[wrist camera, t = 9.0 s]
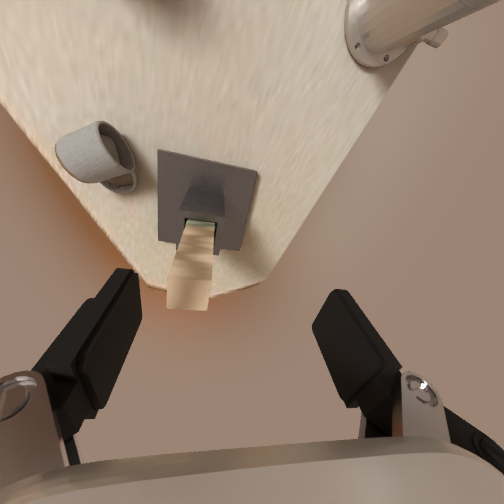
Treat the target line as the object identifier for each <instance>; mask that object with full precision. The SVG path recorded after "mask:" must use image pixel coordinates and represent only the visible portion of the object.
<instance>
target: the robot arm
mask: <svg viewBox="0 0 504 504" xmlns="http://www.w3.org/2000/svg"><path fill="white" fill-rule="evenodd" d="M499 1H501V0H348V2H347V7H346V13H345V36H346V42H347V45H348V48H349V51H350V53H351V54H352V56H353V58H354V59H355V60H356V61H357V62H358V63H360V64H361V65H363V66H366V67H370V68H374V67H380V66H383V65H386V64H388V63H390V62H392V61H394V60H395V59H397V58H398V57H399V56H400V55H401V54H402V53H403V52H405V50H406V49H407V48H408V47H409V46H410V44H411V43H413V42H416V43H420V42H422V41H423V42H426V44H428V45H430V46H432V47H435V48H437V47H439V46H440V45H441V44H442V43H443V42H444V40H445V39H446V37H447V35H448V31H447V30H445V29H443V28H441V27H443V26H446V25H448V24H450V23H452V22H454V21H457V20H459V19H461V18H463V17H465V16H468V15H470V14H472V13H474V12H477V11H479V10H481V9H483V8H485V7H488V6H490V5H492V4H494V3H497V2H499ZM355 46H356V49H355ZM141 320H142V308H141V298H140V288H139V277H138V273H134V271H133V270H132V269H123V268H117V269H116V270H115V271H114V273H113V274H112V275H111V276H110V278H109V279H108V281H107V282H106V283H105V285H104V286H103V287H102V289H101V290H100V291H99V293H98V294H97V295H96V297H95V298H89V299H87V300H86V301H85V302H84V303H83V304H82V306H81V307H80V308H79V310H78V311H77V312H76V314H75V315H74V316H73V317H72V319H71V320H70V321H69V322H68V324H67V325H66V326H65V327H64V329H63V330H62V331H61V333H60V334H59V335H58V336H57V338H56V339H55V340H54V342H53V343H52V344H51V345H50V347H49V348H48V349H47V350H46V352H45V353H44V354H43V356H42V357H41V358H40V360H39V361H38V362H37V363H36V365H35V366H34V367H33V368H32V370H31V371H27V370H26V371H20V372H15V373H12V374H9V375H7V376H4V377H2V378H0V504H504V450H503V449H502V448H501V447H500V446H499V445H497V444H496V443H495V442H494V441H493V440H492V439H491V438H489V437H488V436H487V435H485V434H484V433H482V432H481V431H479V430H478V429H477V428H475V427H474V426H472V425H471V424H469V423H468V422H466V421H465V420H463V419H462V418H460V417H459V416H458V415H456V414H454V413H453V412H452V411H450V410H449V409H447V408H446V407H444V406H443V402H442V400H441V397H440V396H439V394H438V392H437V391H436V390H435V388H434V387H433V386H432V385H431V384H430V383H429V382H428V381H427V380H426V379H424V378H423V377H421V376H420V375H418V374H416V373H414V372H411V371H404V372H403V373H402V374H401V372H400V371H399V370H400V369H401V368H402V366H401V364H400V363H399V362H398V360H397V359H396V358H395V356H394V355H393V354H392V352H391V350H390V349H389V348H388V346H387V345H386V343H385V342H384V341H383V339H382V338H381V337H380V335H379V334H378V332H377V331H376V330H375V328H374V327H373V325H372V324H371V323H370V321H369V320H368V318H367V317H366V316H365V314H364V313H363V311H362V310H361V309H360V307H359V306H358V304H357V303H356V302H355V300H354V299H353V297H352V296H351V295H350V293H349V292H348V291H347V290H341V289H335V290H333V291H332V292H331V293H330V294H329V296H328V298H327V299H326V301H325V303H324V305H323V306H322V308H321V310H320V312H319V313H318V315H317V317H316V319H315V320H314V322H313V324H312V330H313V333H314V336H315V338H316V340H317V343H318V345H319V348H320V350H321V353H322V355H323V357H324V360H325V362H326V365H327V367H328V369H329V372H330V374H331V377H332V379H333V382H334V384H335V387H336V389H337V392H338V394H339V396H340V398H341V399H342V400H343V401H344V403H345V405H346V407H347V408H357V407H358V406H359V407H360V409H361V411H362V413H361V420H360V428H359V436H358V439H350V440H337V441H323V442H309V443H297V444H285V445H271V446H259V447H246V448H235V449H222V450H211V451H198V452H187V453H174V454H163V455H153V456H143V457H133V458H124V459H114V460H104V461H98V462H91V463H85V464H84V463H83V460H82V456H81V453H80V449H79V446H78V442H77V439H76V435H75V434H76V433H77V432H79V429H80V427H81V425H82V423H83V421H84V419H95V417H96V415H97V412H98V410H99V409H103V408H104V407H105V405H106V404H107V401H108V399H109V397H110V394H111V392H112V389H113V387H114V385H115V382H116V380H117V378H118V375H119V373H120V371H121V368H122V366H123V363H124V361H125V359H126V356H127V354H128V351H129V349H130V347H131V344H132V342H133V340H134V337H135V335H136V333H137V330H138V328H139V325H140V323H141Z"/></svg>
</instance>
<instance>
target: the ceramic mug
mask: <svg viewBox="0 0 504 504" xmlns="http://www.w3.org/2000/svg"><path fill="white" fill-rule="evenodd" d="M55 153H56V156H57V159H58V161H59V162H60V164H61V165H62V167H63V168H64V169H65V170H66V171H67V172H68V173H69V174H70V175H71V176H73V177H74V178H76V179H77V180H79V181H81V182H84V183H98V182H100V183H101V184H102V185H103V186H105V187H106V188H107V189H109V190H111V191H113V192H117V193H128V192H131V191H133V190H134V189H135V187H136V183H137V177H136V174H135V172H134V169H135V160H134V157H133V154H132V152H131V150H130V148H129V146H128V144H127V143H126V141H125V139H124V138H123V137H122V135H121V134H120V133H119V132H118V131H117V130H116V129H115V128H114V127H113V126H112V125H110V124H109V123H107V122H104V121H97V122H95V123H93V124H91V125H88V126H86V127H83V128H81V129H79V130H77V131H75V132H72V133H70V134H67V135H65V136H64V137H62V138H61V139H59V140H58V141H57V142H56V144H55ZM128 173H129V174H130V175H131V177H132V179H133V184H131V185H127V186H120V187H118V186H115V185H112V184H111V183H109V182H108V181H107V180H108V179H111V178H114V177H118V176H121V175H125V174H128Z"/></svg>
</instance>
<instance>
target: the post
mask: <svg viewBox="0 0 504 504" xmlns="http://www.w3.org/2000/svg"><path fill="white" fill-rule="evenodd" d="M214 230H215V222H210V221H203V220H197V219H190V218H188V220H187V222H186V226H185V229H184V232H183V235H182V237H181V240H180V243H179V246H178V249H177V252H176V255H175V257H174V260H173V263H172V266H171V269H170V272H169V275H168V277H167V308H169V309H187V310H207V306H208V300H209V294H210V287H211V281H212V263H213V245H214Z"/></svg>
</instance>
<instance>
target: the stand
mask: <svg viewBox="0 0 504 504" xmlns="http://www.w3.org/2000/svg"><path fill="white" fill-rule="evenodd" d="M256 175H257V171H255V170H251V169H246V168H242V167H237V166H233V165H228V164H224V163H219V162H215V161H210V160H206V159H201V158H197V157H193V156H188V155H184V154H179V153H175V152H170V151H166V150H161V149H159V150H158V241H166V242H174V243H176V250H177V249H178V246H179V243H180V240H181V237H182V235H183V232H184V229H185V226H186V222H187V220H188V218H190V219H197V220H203V221H210V222H215V230H214V245H213V255H219V251H220V248H222V249H229V250H237V251H239V250H240V246H241V241H242V237H243V233H244V228H245V224H246V219H247V215H248V210H249V206H250V202H251V197H252V193H253V188H254V184H255V180H256Z"/></svg>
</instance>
